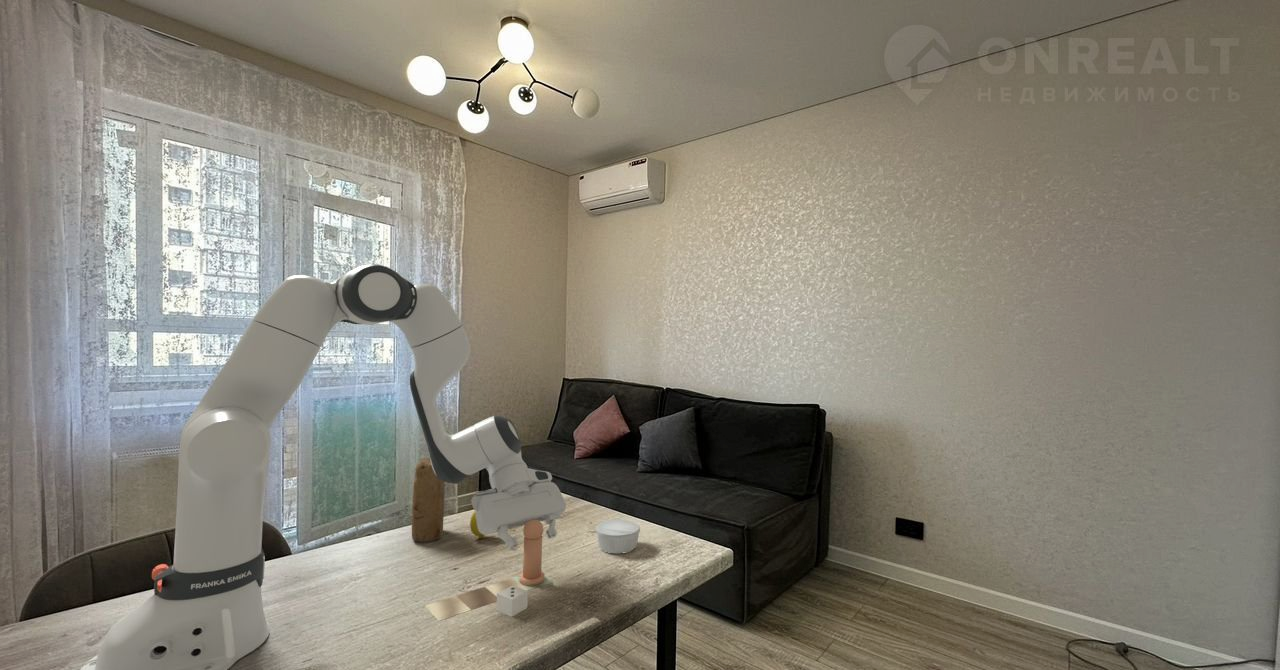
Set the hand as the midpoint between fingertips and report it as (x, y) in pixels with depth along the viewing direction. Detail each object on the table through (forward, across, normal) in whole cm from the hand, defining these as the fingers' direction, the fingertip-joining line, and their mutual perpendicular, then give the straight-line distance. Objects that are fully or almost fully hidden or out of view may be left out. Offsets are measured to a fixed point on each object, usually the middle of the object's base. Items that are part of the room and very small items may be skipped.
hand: (533, 542), depth 107 cm
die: (+12, -9, +1) cm, 15 cm away
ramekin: (+3, +27, +10) cm, 29 cm away
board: (+6, -9, +6) cm, 13 cm away
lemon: (-16, +3, +28) cm, 33 cm away
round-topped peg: (+6, 0, +6) cm, 8 cm away
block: (-23, -7, +36) cm, 43 cm away
